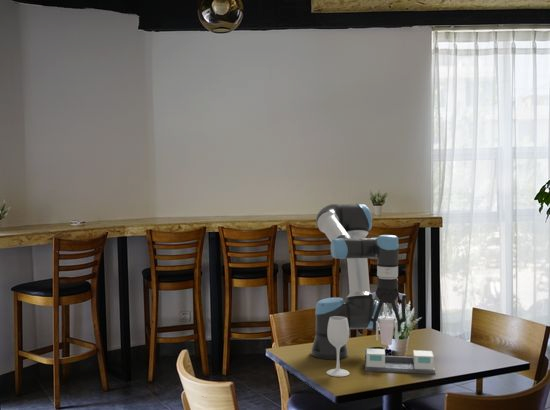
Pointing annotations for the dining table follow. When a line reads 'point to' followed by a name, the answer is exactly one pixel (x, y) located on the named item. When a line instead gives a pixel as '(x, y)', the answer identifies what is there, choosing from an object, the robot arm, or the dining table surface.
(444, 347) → the dining table surface
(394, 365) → the rail plate
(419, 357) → the mounted modules
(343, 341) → the wineglass
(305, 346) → the dining table surface
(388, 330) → the smoothie
